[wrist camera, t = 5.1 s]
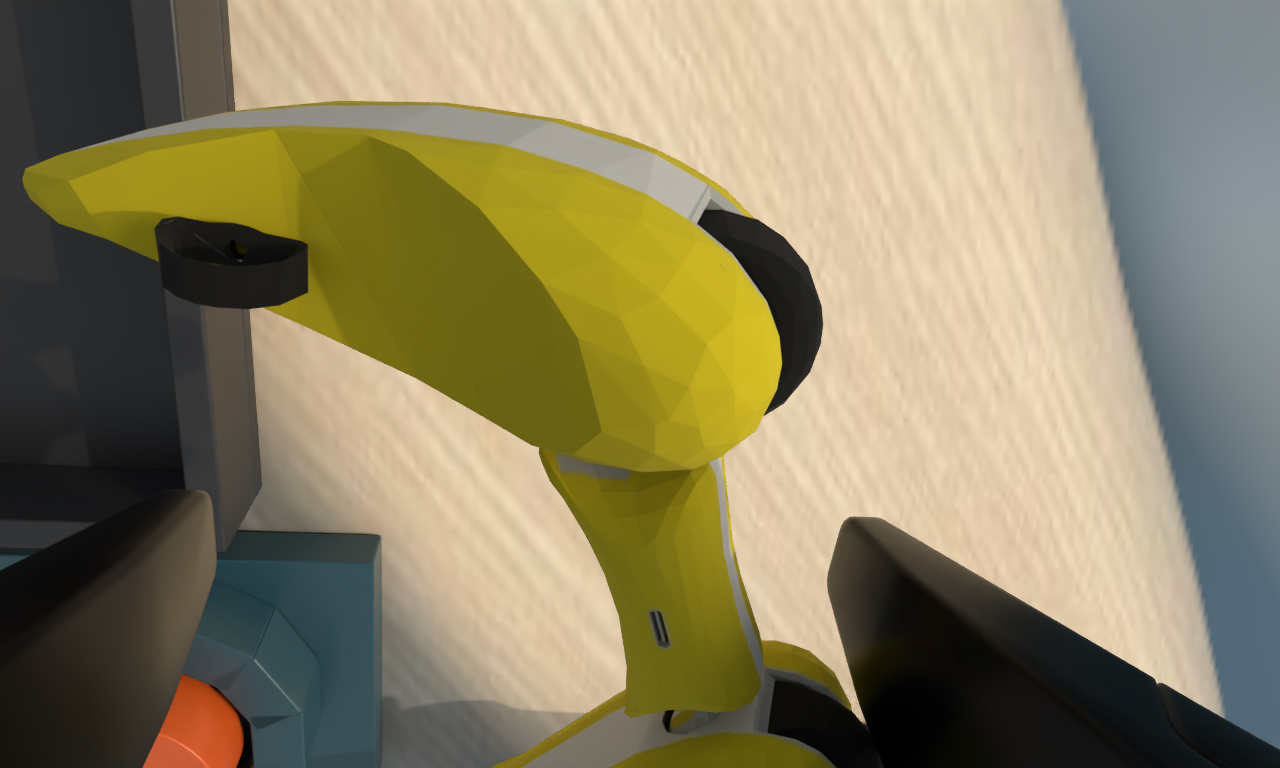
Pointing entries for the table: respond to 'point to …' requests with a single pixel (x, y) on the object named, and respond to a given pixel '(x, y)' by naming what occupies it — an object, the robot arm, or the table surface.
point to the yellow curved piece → (528, 356)
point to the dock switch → (293, 646)
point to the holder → (110, 284)
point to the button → (198, 730)
